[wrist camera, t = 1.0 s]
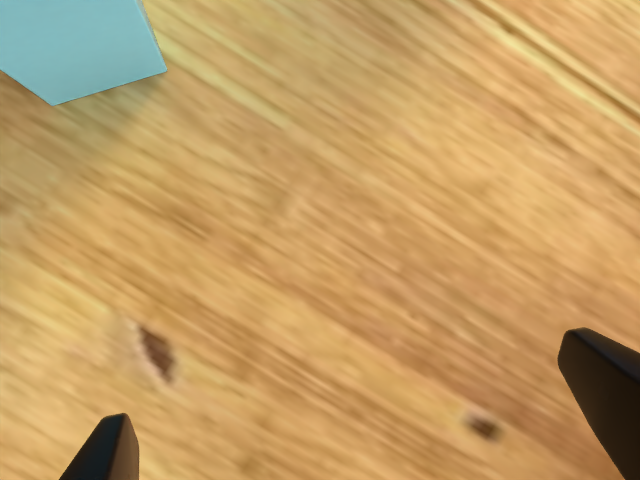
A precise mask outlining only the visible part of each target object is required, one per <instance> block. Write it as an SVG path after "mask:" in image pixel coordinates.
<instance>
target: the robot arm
mask: <svg viewBox="0 0 640 480" xmlns="http://www.w3.org/2000/svg"><path fill="white" fill-rule="evenodd" d="M558 366H559V369H560V371H561V373H562V375H563V377H564V378H565V380H566V382H567V384H568V386H569V388H570V390H571V391H572V393H573V395H574V397H575V399H576V401H577V403H578V404H579V406H580V408H581V410H582V412H583V414H584V416H585V418H586V419H587V421H588V423H589V425H590V427H591V428H592V430H593V432H594V433H595V435H596V437H597V438H598V440H599V441H600V443H601V444H602V446H603V447H604V449H605V450H606V452H607V453H608V455H609V456H610V458H611V459H612V461H613V462H614V464H615V465H616V467H617V468H618V470H619V471H620V473H621V474H622V476H623V477H624V479H625V480H640V353H638V352H636V351H634V350H632V349H630V348H628V347H626V346H624V345H622V344H620V343H618V342H616V341H614V340H612V339H609V338H607V337H605V336H603V335H601V334H599V333H597V332H595V331H593V330H591V329H588V328H577V329H571V330H568V331H566V333H565V334H564V336H563V340H562V343H561V347H560V351H559V354H558ZM59 480H139V444H138V440H137V437H136V434H135V432H134V429H133V426H132V423H131V421H130V418H129V416H128V415H127V414H126V413H121V414H115V415H110V416H106V417H104V418H103V419H102V420H101V421H100V422H99V424H98V425H97V426H96V428H95V429H94V431H93V432H92V433H91V435H90V436H89V438H88V439H87V441H86V442H85V443H84V445H83V446H82V448H81V449H80V450H79V452H78V453H77V455H76V456H75V457H74V459H73V460H72V462H71V463H70V465H69V466H68V467H67V469H66V470H65V472H64V473H63V474H62V476H61V477H60V479H59Z"/></svg>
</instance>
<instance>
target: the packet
mask: <svg viewBox="0 0 640 480" xmlns="http://www.w3.org/2000/svg"><path fill="white" fill-rule="evenodd" d="M0 70H1V71H3V72H4V73H6V74H7V75H8V76H10V77H11V78H13V79H14V80H16V81H17V82H18V83H20V84H21V85H23V86H24V87H25V88H27V89H28V90H30V91H31V92H33V93H34V94H35V95H37V96H38V97H40V98H41V99H43V100H44V101H45V102H47V103H48V104H50V105H51V106H54V105H58V104H61V103H64V102H67V101H71V100H74V99H77V98H81V97H84V96H87V95H90V94H94V93H97V92H100V91H104V90H107V89H110V88H114V87H117V86H120V85H123V84H127V83H130V82H133V81H137V80H140V79H143V78H147V77H150V76H153V75H156V74H160V73H163V72H166V71H167V67H166V65H165V62H164V59H163V56H162V54H161V51H160V48H159V46H158V43H157V40H156V38H155V35H154V32H153V29H152V27H151V24H150V21H149V19H148V16H147V13H146V11H145V8H144V5H143V2H142V0H0Z"/></svg>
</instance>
